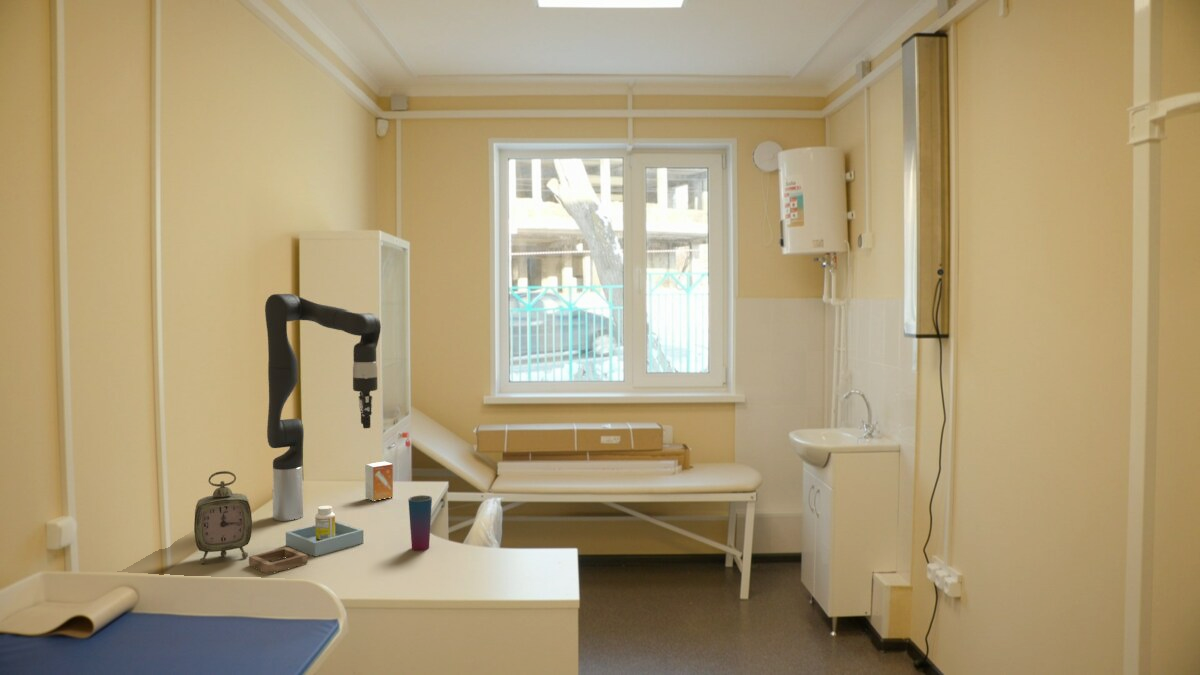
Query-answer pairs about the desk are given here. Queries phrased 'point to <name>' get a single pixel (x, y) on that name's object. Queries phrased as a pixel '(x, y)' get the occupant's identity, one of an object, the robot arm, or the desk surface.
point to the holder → (263, 561)
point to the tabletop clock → (222, 520)
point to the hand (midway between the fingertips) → (365, 425)
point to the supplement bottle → (325, 523)
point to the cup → (420, 521)
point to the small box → (378, 480)
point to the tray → (307, 539)
